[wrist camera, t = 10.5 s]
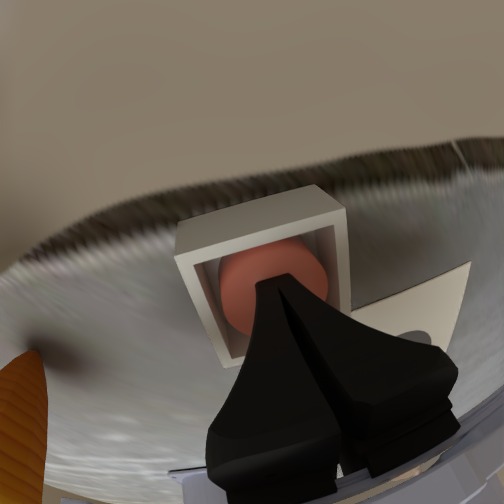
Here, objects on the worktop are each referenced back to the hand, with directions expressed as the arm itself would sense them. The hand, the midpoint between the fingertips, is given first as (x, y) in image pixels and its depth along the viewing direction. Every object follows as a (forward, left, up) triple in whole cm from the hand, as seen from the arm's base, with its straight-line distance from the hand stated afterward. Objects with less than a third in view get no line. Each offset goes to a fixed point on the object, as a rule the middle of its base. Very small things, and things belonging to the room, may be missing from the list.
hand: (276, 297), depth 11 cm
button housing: (0, 0, -3) cm, 3 cm away
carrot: (-2, +15, -3) cm, 15 cm away
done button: (0, 0, -2) cm, 2 cm away
